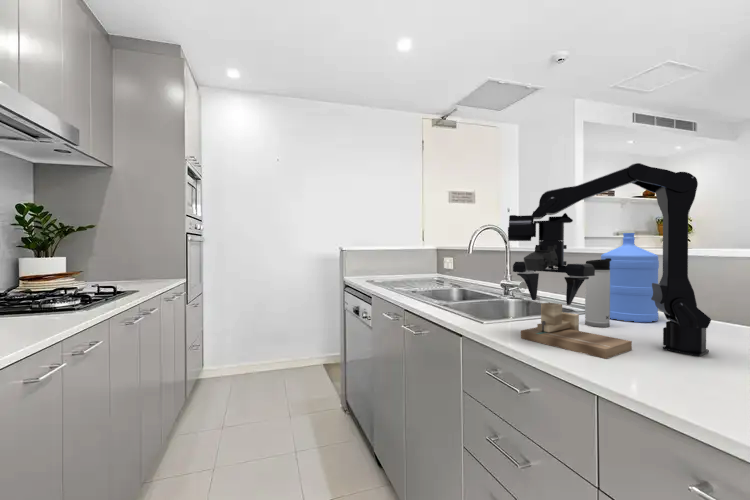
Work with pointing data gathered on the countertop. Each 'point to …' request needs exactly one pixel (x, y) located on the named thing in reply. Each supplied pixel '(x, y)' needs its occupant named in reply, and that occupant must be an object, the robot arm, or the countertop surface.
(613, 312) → the water jug
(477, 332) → the countertop surface
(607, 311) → the travel mug
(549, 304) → the beech gauge
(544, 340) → the walnut board
